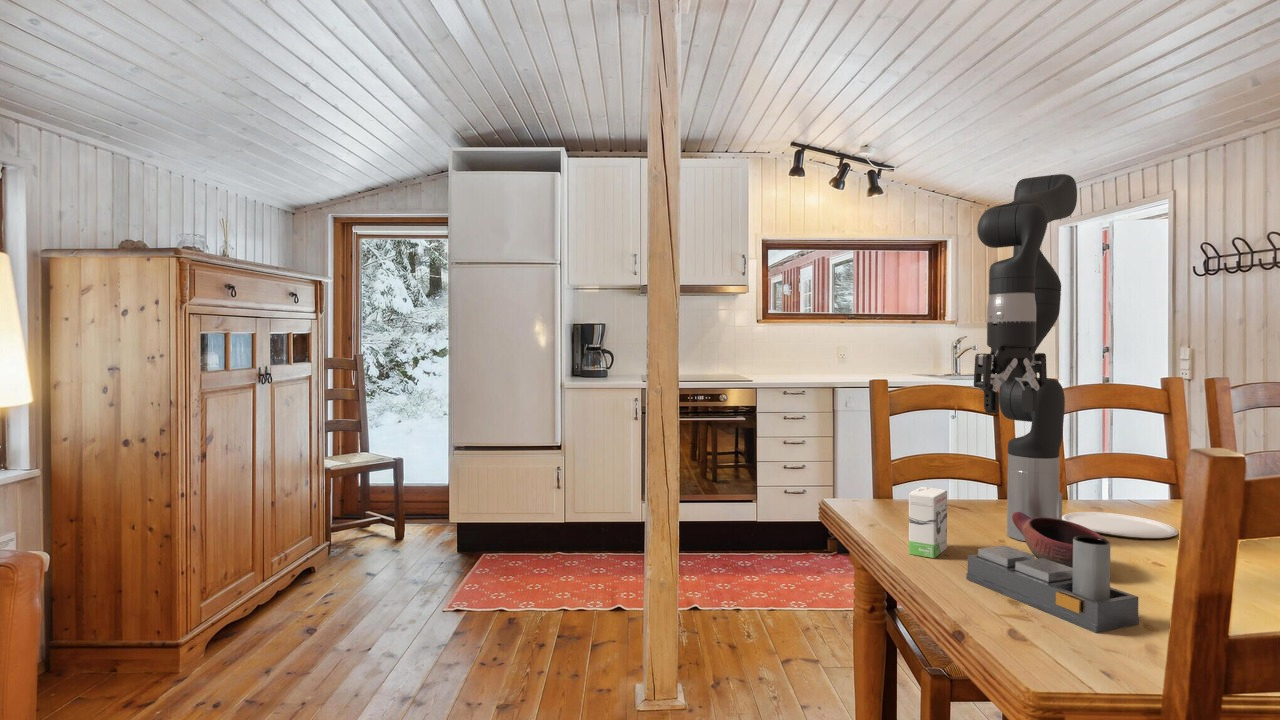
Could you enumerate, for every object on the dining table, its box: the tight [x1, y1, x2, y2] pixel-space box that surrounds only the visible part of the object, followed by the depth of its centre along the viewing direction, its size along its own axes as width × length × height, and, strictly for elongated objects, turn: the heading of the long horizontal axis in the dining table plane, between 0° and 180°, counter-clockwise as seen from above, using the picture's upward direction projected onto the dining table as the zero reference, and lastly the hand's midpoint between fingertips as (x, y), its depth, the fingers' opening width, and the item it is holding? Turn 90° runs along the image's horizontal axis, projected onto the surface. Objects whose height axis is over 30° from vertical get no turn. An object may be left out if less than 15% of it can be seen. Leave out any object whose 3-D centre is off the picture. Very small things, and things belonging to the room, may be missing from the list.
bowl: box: [1012, 512, 1107, 568], centre depth 120 cm, size 16×13×8 cm
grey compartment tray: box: [965, 544, 1140, 634], centre depth 104 cm, size 23×9×5 cm, turn 19°
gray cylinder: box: [1072, 536, 1112, 601], centre depth 98 cm, size 4×4×10 cm
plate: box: [1062, 511, 1179, 540], centre depth 146 cm, size 21×21×1 cm
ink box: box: [908, 486, 948, 559], centre depth 129 cm, size 9×5×12 cm, turn 140°
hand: (1010, 412), depth 117 cm, fingers open, 8 cm apart
